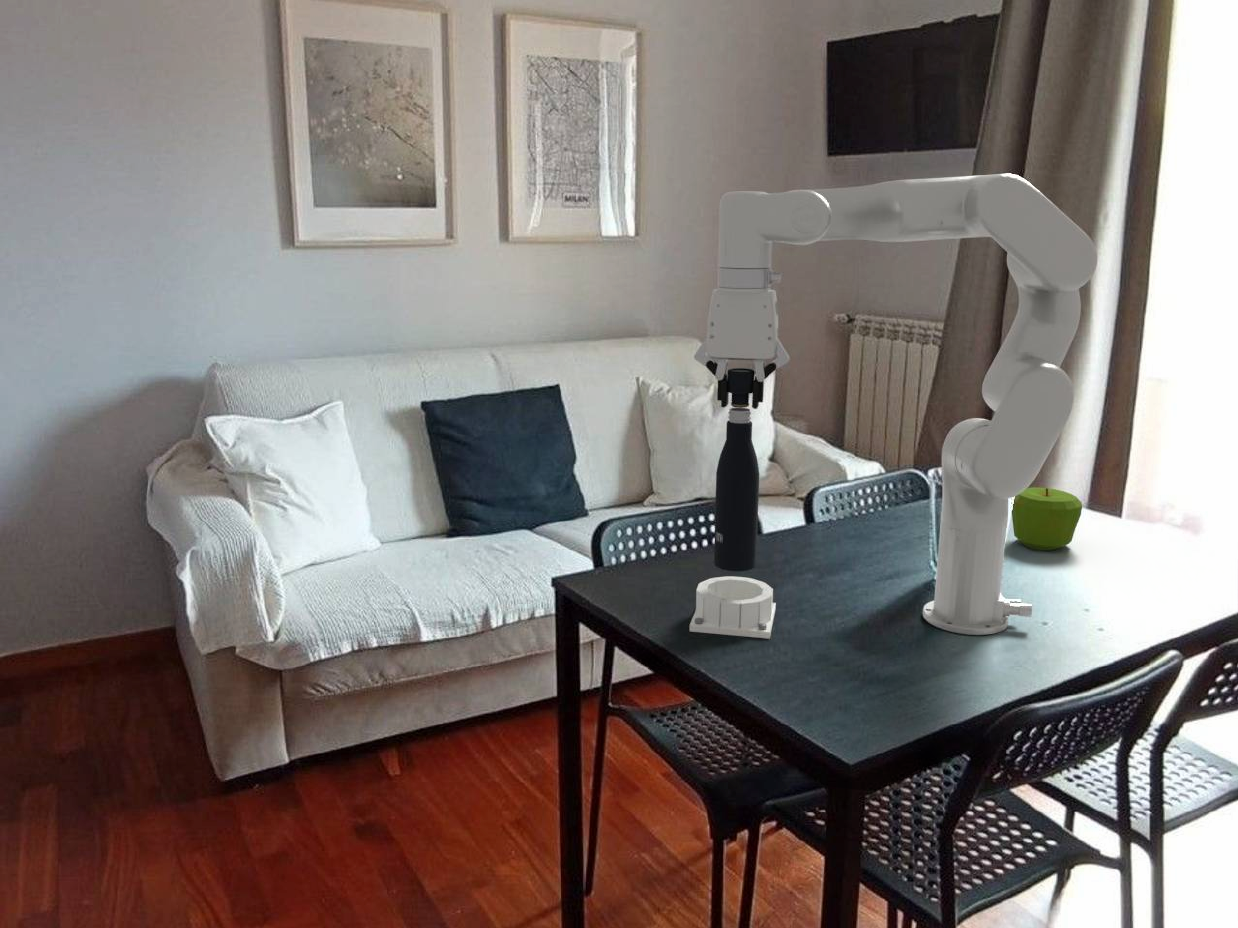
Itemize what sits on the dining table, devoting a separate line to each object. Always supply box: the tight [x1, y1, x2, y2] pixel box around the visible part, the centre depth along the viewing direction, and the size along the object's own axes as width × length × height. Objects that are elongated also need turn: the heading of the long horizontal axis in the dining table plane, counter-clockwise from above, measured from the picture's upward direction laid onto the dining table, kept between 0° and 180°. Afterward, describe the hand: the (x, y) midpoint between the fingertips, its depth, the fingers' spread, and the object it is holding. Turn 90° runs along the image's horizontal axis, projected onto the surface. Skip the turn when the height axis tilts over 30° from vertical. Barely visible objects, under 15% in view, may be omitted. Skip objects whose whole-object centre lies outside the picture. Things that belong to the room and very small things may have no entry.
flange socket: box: [689, 575, 777, 640], centre depth 159 cm, size 12×12×5 cm
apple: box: [1011, 486, 1083, 551], centre depth 195 cm, size 12×12×11 cm
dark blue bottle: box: [713, 367, 760, 572], centre depth 154 cm, size 6×6×30 cm
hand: (740, 405), depth 152 cm, fingers closed on dark blue bottle, 3 cm apart
